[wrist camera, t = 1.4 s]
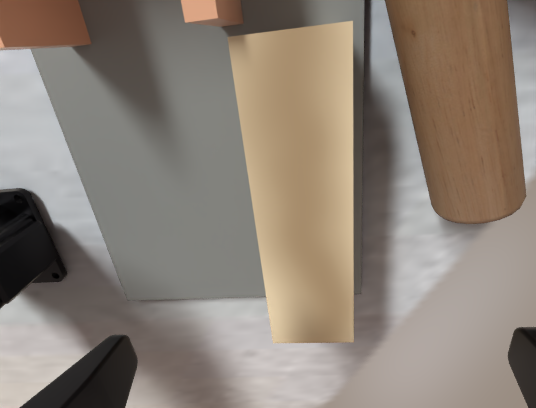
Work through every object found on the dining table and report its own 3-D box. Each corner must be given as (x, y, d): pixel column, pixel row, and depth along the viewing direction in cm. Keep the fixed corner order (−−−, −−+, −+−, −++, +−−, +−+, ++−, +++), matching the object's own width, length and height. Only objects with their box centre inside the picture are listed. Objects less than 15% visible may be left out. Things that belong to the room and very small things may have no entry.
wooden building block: (277, 289, 21) (273, 343, 17) (245, 36, 14) (227, 36, 11) (344, 287, 20) (353, 342, 17) (339, 24, 14) (352, 20, 10)
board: (131, 294, 23) (127, 300, 22) (-21, -112, 13) (-34, -118, 13) (359, 287, 21) (361, 293, 20) (363, -192, 12) (366, -203, 11)
